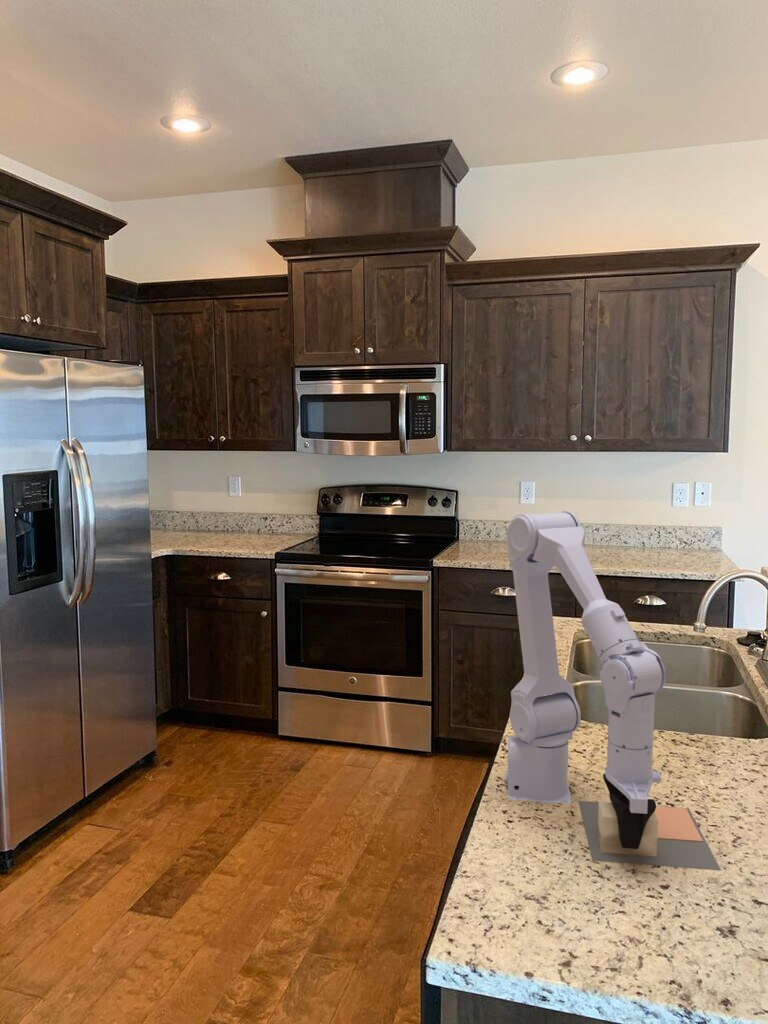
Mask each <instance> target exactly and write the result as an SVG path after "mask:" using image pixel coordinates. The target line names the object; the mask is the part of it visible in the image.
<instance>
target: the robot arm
mask: <svg viewBox="0 0 768 1024" xmlns="http://www.w3.org/2000/svg"><path fill="white" fill-rule="evenodd" d="M505 532H506V542H507V549H508V559H509V560H508V561H509V566H510V568H512V576H513V584H514V592H515V600H516V601H515V602H516V609H517V610H516V611H517V619H518V620H517V622H518V627H519V637H520V647H521V654H522V655H521V656H522V664H523V672H524V676H523V678H522V679H521V680H520V681H519V682H518V683H517V684H516V685H515V687H513V689H512V690H511V691H510V696H511V697H510V698H511V703H510V705H511V706H510V711H509V721H510V726H511V728H512V731H513V732H514V734H515V735H508V739H507V770H505V783H507V796H508V800H513V801H524V802H525V801H527V802H541V803H556V804H568V805H569V804H572V803H573V802H572V796H571V791H570V788H569V783H568V773H569V771H568V769H569V767H568V766H569V765H568V764H569V763H568V762H569V741H570V740H572V739H573V733H574V732H576V731H577V730H578V729H579V727H580V724H581V719H582V717H581V715H582V713H581V708H580V705H579V703H578V701H577V699H576V694H575V689H574V685H573V684H572V683H571V682H569V681H568V680H567V679H565V678H564V677H563V676H562V675H561V674H560V668H559V658H558V652H557V642H556V633H555V625H554V618H553V608H552V600H551V591H550V585H549V573H550V572H551V570H552V569H553V568H554V567H556V568H557V569H558V571H559V573H560V574H561V576H562V577H563V578H564V580H565V582H566V584H567V585H568V587H569V588H570V590H571V592H572V593H573V595H574V597H575V598H576V599H577V602H578V603H579V605H580V606H581V607H582V609H583V612H582V616H581V618H580V619H581V621H580V622H581V625H582V627H583V629H584V631H585V633H586V634H587V637H588V639H589V641H590V643H591V645H592V647H593V649H594V650H595V653H596V655H597V657H598V658H599V660H600V662H601V664H602V669H601V670H599V678H600V684H601V685H602V688H603V690H604V694H605V695H604V697H605V702H604V703H606V708H608V724H607V725H608V729H607V747H606V748H607V753H606V767H605V769H604V771H605V773H603V774H602V778H603V781H604V784H605V785H606V788H607V789H608V792H609V794H608V795H609V796H608V798H609V801H610V803H612V805H613V808H614V810H615V812H616V815H617V821H618V829H619V837H620V842H621V845H622V848H629V849H638V848H639V845H640V842H641V839H642V835H643V832H644V829H645V826H646V824H647V821H648V820H649V818H650V816H651V815H652V814H653V813H654V812H655V809H656V806H657V804H656V800H655V799H651V798H648V796H649V793H650V790H651V788H652V785H653V784H654V783H661V782H662V776H661V773H660V772H659V771H656V770H653V754H654V752H653V750H654V726H655V725H654V724H655V704H656V702H655V700H656V699H655V698H656V693H658V692H660V691H661V690H662V689H663V688H664V686H665V684H666V678H667V677H666V676H667V675H666V668H665V666H664V664H663V662H662V657H661V656H660V655H659V654H658V653H657V652H656V651H655V650H653V649H650V647H648V646H647V645H646V643H644V642H641V641H640V640H639V637H637V635H636V633H635V631H634V629H633V627H632V626H631V624H630V622H629V620H628V618H627V617H626V613H625V611H624V610H623V608H621V606H620V604H618V603H616V602H614V601H611V600H609V599H607V598H606V595H605V593H604V590H603V588H602V586H601V584H600V582H599V580H598V577H597V576H596V573H595V570H594V569H593V566H592V564H591V562H590V560H589V557H588V555H587V553H586V550H585V548H584V545H585V540H586V532H585V530H584V528H582V526H581V522H580V520H579V518H578V516H577V515H576V514H575V513H573V512H572V511H569V510H564V511H560V512H547V513H531V514H530V513H528V514H527V513H519V514H517V515H515V516H514V517H513V519H512V520H511V522H510V523H509V525H508V527H507V529H506V531H505Z"/></svg>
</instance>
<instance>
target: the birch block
mask: <svg viewBox="0 0 768 1024" xmlns="http://www.w3.org/2000/svg"><path fill="white" fill-rule="evenodd" d="M598 802H599V809H598V840H599V844H600V847H601V851H602V853H616V854H629V855H642V856H655V857H657V833H658V819H657V817H656V815H655V812H654V813H653V814H652V815H651V816H650V818H649V820H648V821H647V824H646V826H645V829H644V832H643V835H642V839H641V842H640V845H639V848H638V849H629V848H622V845H621V842H620V837H619V829H618V821H617V815H616V812H615V810H614V808H613V805H612V803H611V802H603V801H598Z"/></svg>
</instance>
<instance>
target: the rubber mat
mask: <svg viewBox="0 0 768 1024" xmlns="http://www.w3.org/2000/svg"><path fill="white" fill-rule="evenodd" d="M599 802H600V801H588V800H586V801H585V800H578V805H579V809H580V813H581V818H582V821H583V827H584V831H585V835H586V838H587V840H586V841H587V844H588V847H589V853H590V856H591V861H595V862H596V861H597V862H606V863H618V864H619V863H620V864H635V865H645V866H657V867H669V868H670V867H671V868H672V867H673V868H682V869H683V868H684V869H694V870H695V869H698V870H710V871H719V872H720V871H722V869H721V867H720V865H719V863H718V861H717V859H716V858H715V856H714V854H713V852H712V850H711V848H710V846H709V844H708V842H707V841H706V839H705V837H704V834H703V833H702V831H701V829H700V826H699V825H698V824H697V821H696V819H695V818H694V815H693V814H692V812H691V810H690V808H689V807H676V806H662V805H661V806H660V805H656V809H655V815H656V817H657V819H658V833H657V857H655V856H642V855H629V854H616V853H602V851H601V847H600V844H599V840H598V809H599Z"/></svg>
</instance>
